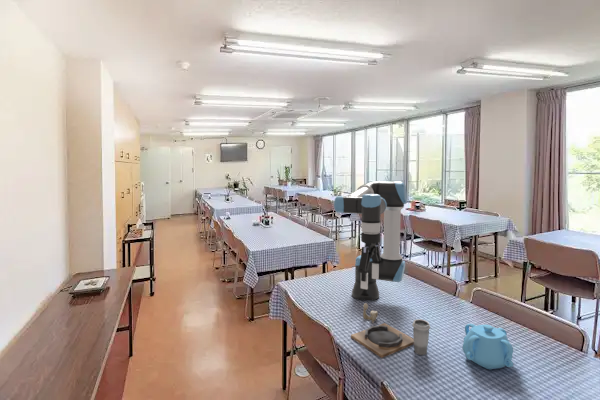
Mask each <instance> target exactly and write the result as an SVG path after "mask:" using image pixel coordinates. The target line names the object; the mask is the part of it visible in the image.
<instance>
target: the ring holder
mask: <svg viewBox="0 0 600 400" xmlns="http://www.w3.org/2000/svg"><path fill="white" fill-rule="evenodd" d="M350 338H351V339H352V340H354V341H355V342H357V343H358V344H360V345H362V346H363V347H364V348H366V349H367V350H369V351H371V353H373V354H375V355H376V356H377V357H379V358H381V359H384V358H386V357H387V356H390V355H393V354H395V353H397V352H399V351H401V350H405V349H407V348H409V347H411V346H414V338H413V337H411V336H410V335H407V334H406V333H404V332H402V331H400V330H398V329H397V328H395V327H393V326H390V325H389V324H387V323H385V322H384V323H381V324H378V325H373V326H369V327H367V328H366V329H364V330H360V331H358V332H355V333H352V334H350Z"/></svg>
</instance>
